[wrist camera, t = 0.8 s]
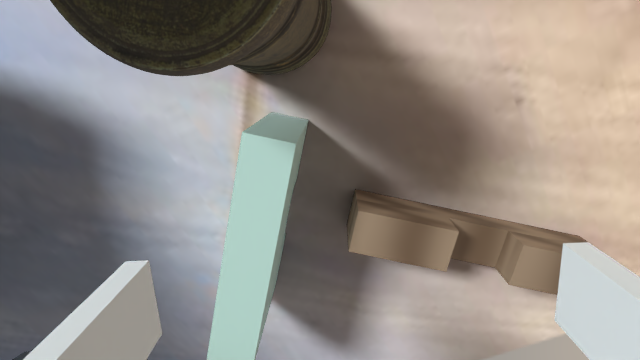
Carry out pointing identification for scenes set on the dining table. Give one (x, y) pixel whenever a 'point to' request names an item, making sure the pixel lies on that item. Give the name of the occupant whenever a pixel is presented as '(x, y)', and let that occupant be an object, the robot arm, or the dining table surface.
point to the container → (202, 33)
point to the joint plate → (255, 234)
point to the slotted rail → (455, 240)
